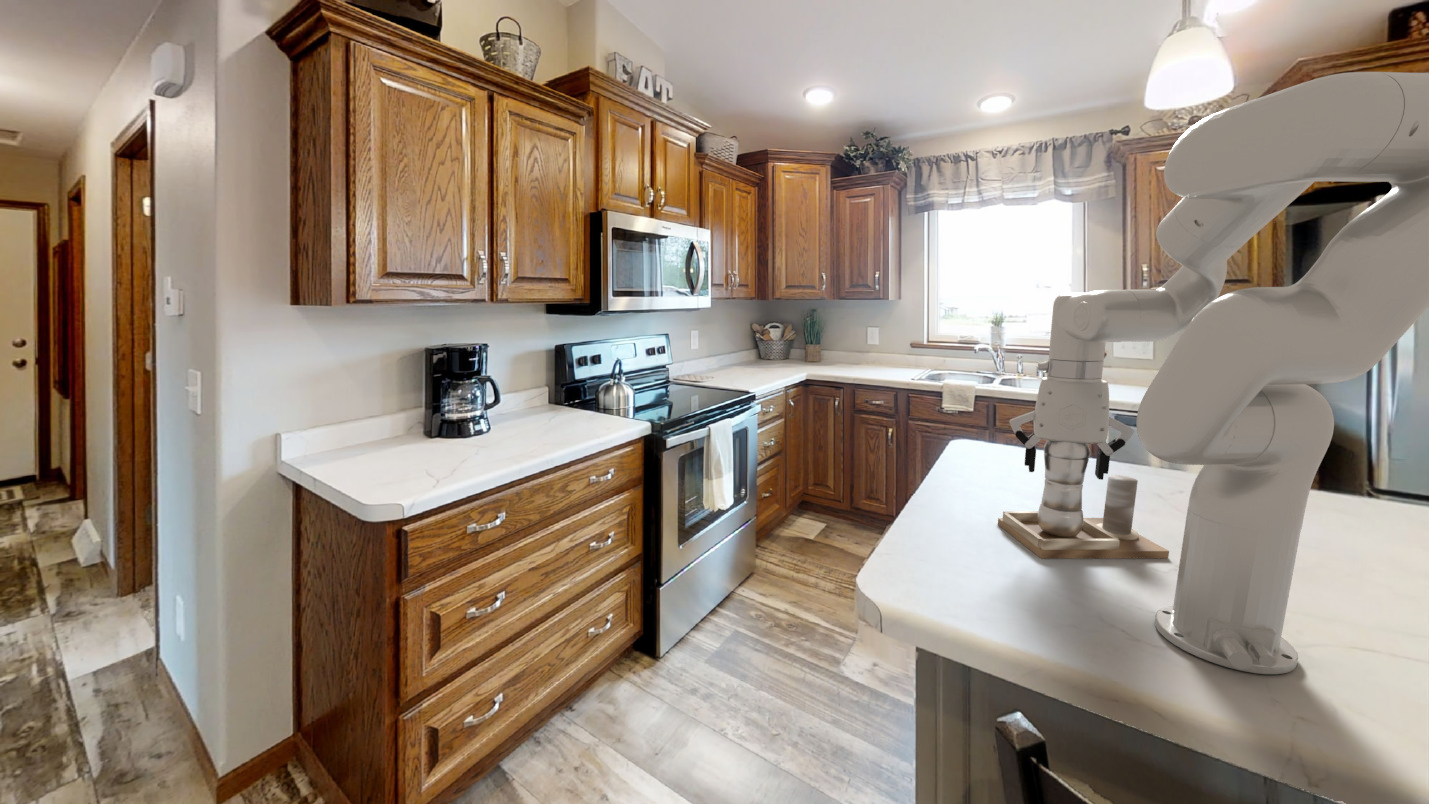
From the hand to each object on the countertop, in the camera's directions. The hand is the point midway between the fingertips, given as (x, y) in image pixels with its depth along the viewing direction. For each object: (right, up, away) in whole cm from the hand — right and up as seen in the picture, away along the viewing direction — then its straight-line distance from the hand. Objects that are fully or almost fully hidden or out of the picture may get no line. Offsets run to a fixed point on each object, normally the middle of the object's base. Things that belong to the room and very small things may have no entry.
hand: (1064, 473), depth 94 cm
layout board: (+3, -12, +2) cm, 12 cm away
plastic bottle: (0, -11, +2) cm, 11 cm away
